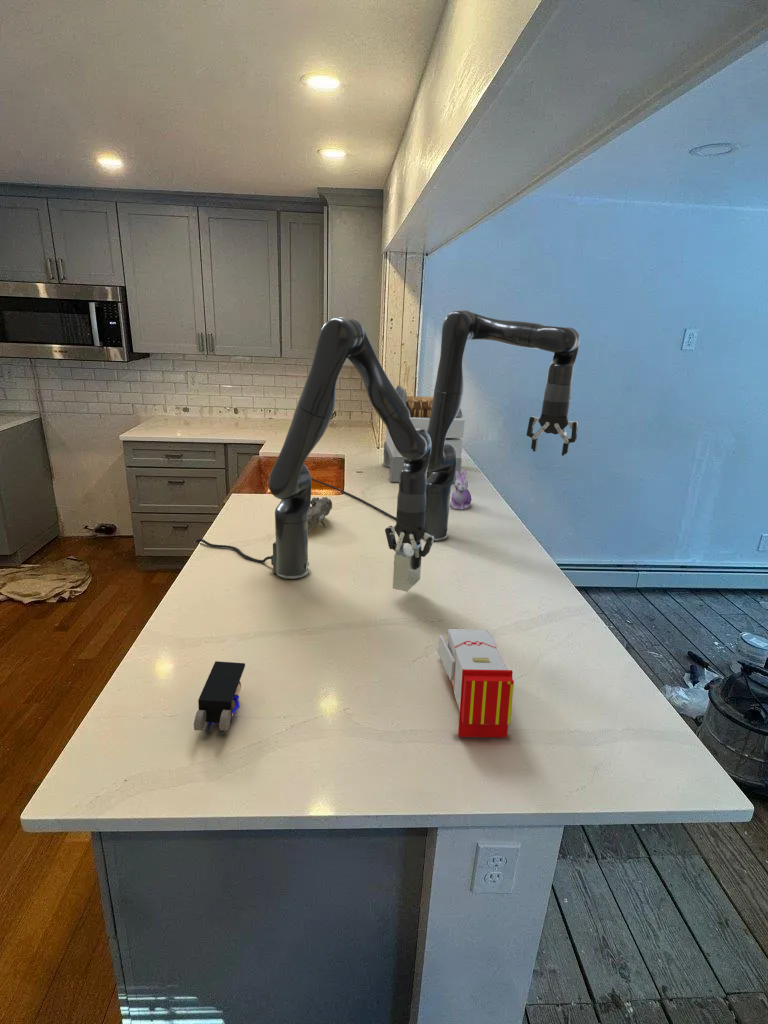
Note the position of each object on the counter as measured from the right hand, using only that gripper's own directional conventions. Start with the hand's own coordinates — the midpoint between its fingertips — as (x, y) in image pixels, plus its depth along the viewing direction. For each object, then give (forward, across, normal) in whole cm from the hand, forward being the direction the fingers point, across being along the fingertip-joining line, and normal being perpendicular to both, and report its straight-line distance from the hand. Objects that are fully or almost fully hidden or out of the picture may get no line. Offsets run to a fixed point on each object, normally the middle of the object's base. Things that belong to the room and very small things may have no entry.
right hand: (548, 453), depth 171 cm
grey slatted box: (+36, -71, +75) cm, 109 cm away
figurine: (+36, -38, +38) cm, 65 cm away
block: (+31, -26, -44) cm, 60 cm away
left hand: (+26, -26, -44) cm, 57 cm away
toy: (+36, +3, -74) cm, 83 cm away
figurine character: (+36, -37, -105) cm, 117 cm away
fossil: (+36, -76, -11) cm, 85 cm away
